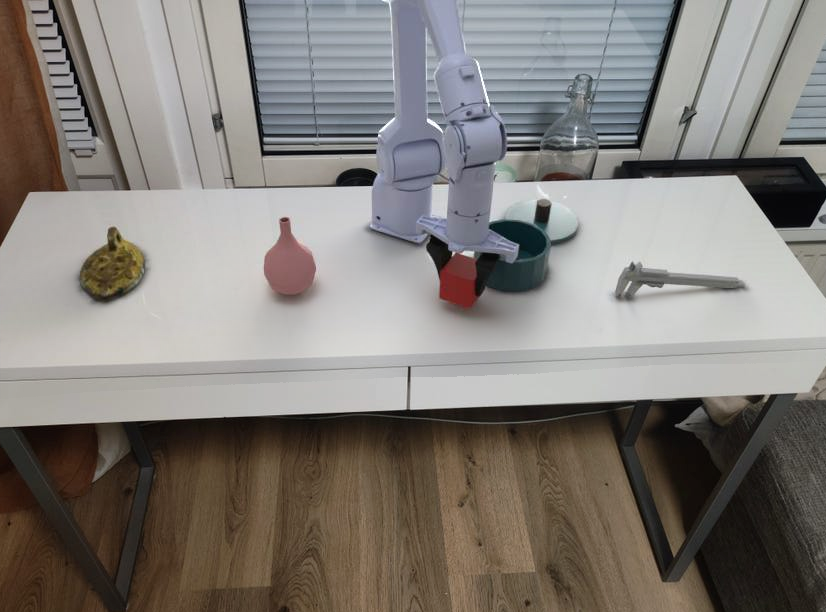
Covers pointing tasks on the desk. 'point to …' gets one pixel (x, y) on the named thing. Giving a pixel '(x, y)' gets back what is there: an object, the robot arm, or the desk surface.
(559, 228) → the lid
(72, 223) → the desk surface
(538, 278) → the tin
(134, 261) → the seal
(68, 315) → the desk surface
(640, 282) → the caliper
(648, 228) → the desk surface
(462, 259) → the red block
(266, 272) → the pink vase
